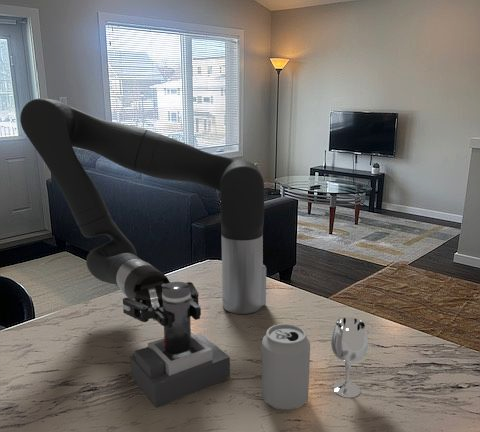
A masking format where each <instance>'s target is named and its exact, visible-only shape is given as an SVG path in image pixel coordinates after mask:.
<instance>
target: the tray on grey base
mask: <svg viewBox="0 0 480 432" xmlns="http://www.w3.org/2000/svg"><path fill="white" fill-rule="evenodd" d="M134 353H135V354H134V355H131V356H130V357H129V359H130V369H131V370H130V373H131V374H130V375H131V378H132V380H133V381H134V382H135V383H136V384H137V385H138V387H139V388H140V389H141V390H142V392H143V393H144V394H145V395H146V397H147V398H148V399H149V400H150V402H152V404H153V405H154V406H155V408H158V407H160V406H164V405H165V404H168V403H170V402H173V401H175V400H178V399H180V398H183V397H186V396H188V395H190V394H192V393H193V394H194V393H195V392H197V391H200V390H202V389H203V390H204V389H205V388H207V387H210V386H212V385H215V384H217V383H220V382H221V381H225V380H227V379H229V378H231V357H230V356H229V355H228V354H227V353H226V352H225V351H224V350H222V349H220V347H218V346H217V345H216V344H215V343H214V342H212V340H209V339H208V338H207V337H206V336H205V335H203V334H202V333H201V332H200V333H198V334H197V333H196V334H194V333H193V332H192V331H191V348H190V349H189V350H188V351H186V352H184V353H179V354H173V353H169V352H167V351H166V350H165V346H164V337H163V338H161V339H158V340H154V341H151V342H148V343H147V346H146V347H143V348H141V349H137V350H135V352H134Z"/></svg>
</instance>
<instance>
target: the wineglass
mask: <svg viewBox="0 0 480 432" xmlns="http://www.w3.org/2000/svg"><path fill="white" fill-rule="evenodd" d="M367 331H368V330H367V327H366V324H365V322H364V321H362V320H361V319H359V318H355V317H350V316H349V317H348V316H347V317H341V318H338V319H337V320H336V321H335V324H334V327H333V329H332V335H331V340H330V346H331V351H332V353H333V354H334V356H335V357H337V359H339V360H341V361H343V362H345V363H344V367H345V368H344V369H345V380H340V381H337V382H335V383H334V384H333V386H332V390H333V392H334V393H335V394H336V395H338V396H340V397H342V398H347V399H349V398H356V397H358V396H359V395H360V393H361V389H360V387H359V385H357V384H356V383H355V382H352V381H350V380H349V379H350V378H349V377H350V370H351V368H352V363H355V362H359V361H361V360H362V359H363V358H364V357H365V356H366V354H367V351H368V346H369V340H368V339H369V338H368V333H367Z"/></svg>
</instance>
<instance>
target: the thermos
mask: <svg viewBox="0 0 480 432" xmlns="http://www.w3.org/2000/svg"><path fill="white" fill-rule="evenodd" d="M162 291H163V292H162V300H163V308H164V309H165V310H166V311H167V312H169V313H170V314H171V315H172V325H173V326H172V327H170V328H167V327H166V326H163V338H164V346H165V350H166V351H167V352H169V353H173V354H179V353H184V352H186V351H188V350H189V349H190V348H191V332H192V329H191V327H192V326H191V324H192V323H191V322H192V321H191V318H192V317H191V316H190V299H191V292H190V285H189V284H187V282H183V281H170V283H167V284H165V285H164V286H163V287H162Z"/></svg>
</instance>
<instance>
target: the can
mask: <svg viewBox="0 0 480 432" xmlns="http://www.w3.org/2000/svg"><path fill="white" fill-rule="evenodd" d="M261 343H262V345H261V347H262V349H261V350H262V351H261V352H262V353H261V356H262V358H261V359H262V361H261V365H262V366H261V368H262V370H261V375H262V376H261V397H262V398H263V400H264V402H266V403H267V404H268V405H269V406H271V407H272V408H273V409H276V410H279V411H289V412H290V411H294V410H297V409H298V408H300V407H301V406H303V405H304V404H306V402H307V401H308V399H309V393H310V392H309V390H310V389H309V388H310V386H309V385H310V367H311V366H310V362H311V359H310V358H311V357H310V356H311V340H310V339H309V338H308V335H307V332H306V330H304V328H302V327H300V325H299V326H298V325H295V324H292V323H291V324H290V323H279V324H274V325H272V326H270V327H269V328H268V329H267V330H266V333H265V335H264V336H263V338H262V342H261Z"/></svg>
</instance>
